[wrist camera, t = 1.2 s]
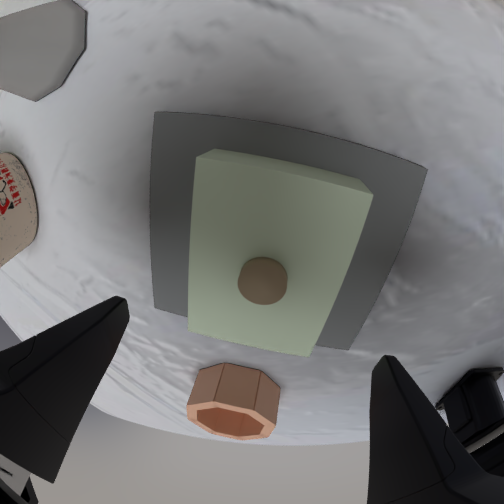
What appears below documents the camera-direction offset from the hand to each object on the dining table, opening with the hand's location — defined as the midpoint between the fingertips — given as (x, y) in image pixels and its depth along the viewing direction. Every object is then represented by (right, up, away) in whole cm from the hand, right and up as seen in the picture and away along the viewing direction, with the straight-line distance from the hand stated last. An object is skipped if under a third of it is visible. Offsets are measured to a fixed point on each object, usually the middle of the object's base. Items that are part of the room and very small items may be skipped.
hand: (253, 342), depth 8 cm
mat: (+1, +3, +6) cm, 7 cm away
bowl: (-1, -9, +13) cm, 15 cm away
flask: (-13, +16, +1) cm, 21 cm away
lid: (+1, +3, +5) cm, 6 cm away
